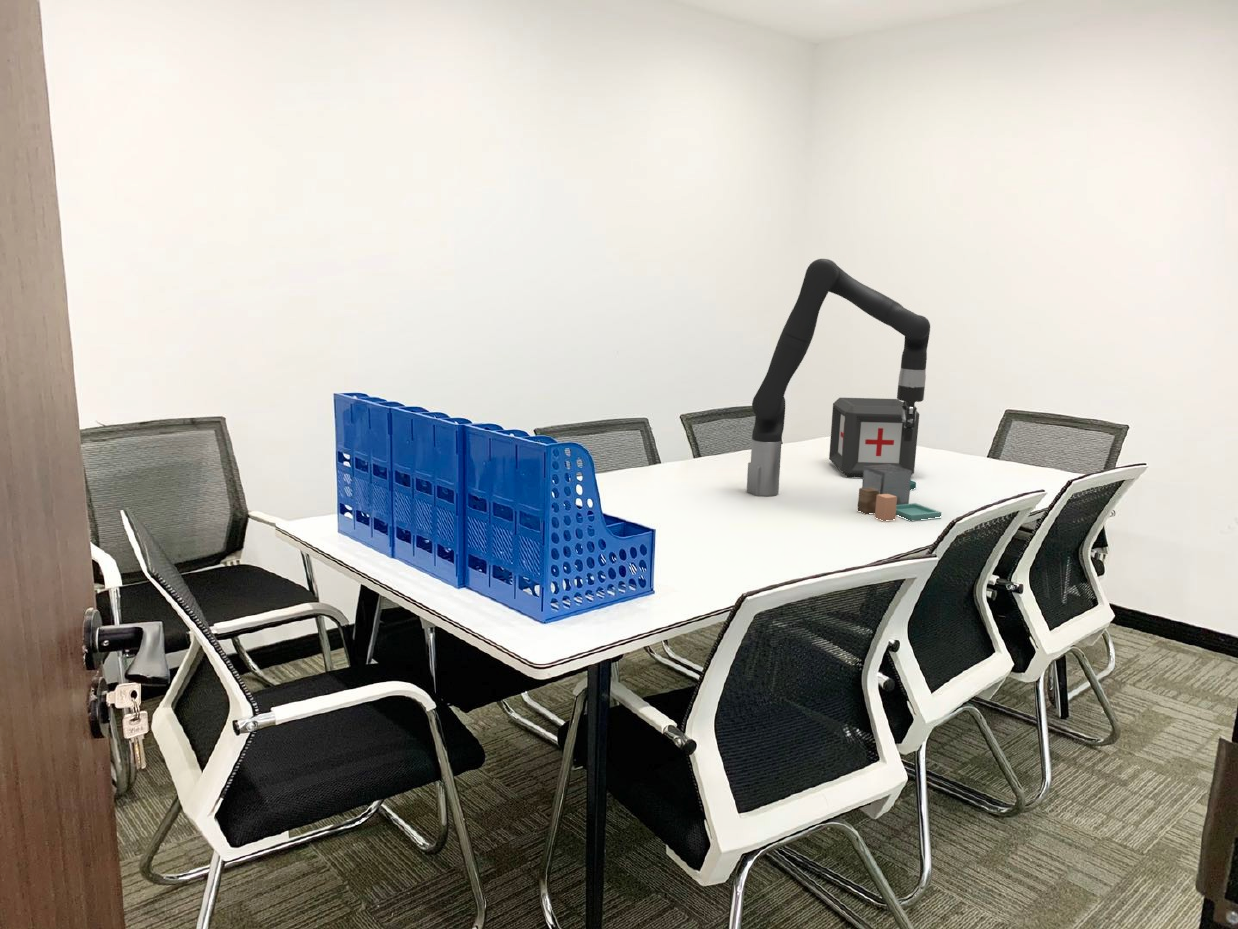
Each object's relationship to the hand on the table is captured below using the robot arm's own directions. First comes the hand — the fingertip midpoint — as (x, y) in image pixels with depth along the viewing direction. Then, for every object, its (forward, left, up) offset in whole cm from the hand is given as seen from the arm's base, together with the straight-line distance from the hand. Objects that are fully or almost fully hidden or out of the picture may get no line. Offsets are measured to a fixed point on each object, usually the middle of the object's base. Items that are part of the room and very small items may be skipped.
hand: (906, 438), depth 269 cm
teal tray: (-2, -8, -21) cm, 23 cm away
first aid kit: (+24, +45, -22) cm, 55 cm away
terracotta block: (-13, -9, -21) cm, 27 cm away
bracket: (+14, +19, -22) cm, 32 cm away
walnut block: (-13, -1, -21) cm, 25 cm away
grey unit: (-1, +6, -21) cm, 22 cm away
